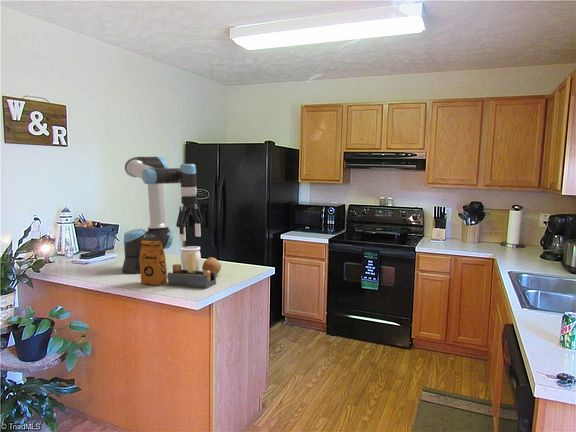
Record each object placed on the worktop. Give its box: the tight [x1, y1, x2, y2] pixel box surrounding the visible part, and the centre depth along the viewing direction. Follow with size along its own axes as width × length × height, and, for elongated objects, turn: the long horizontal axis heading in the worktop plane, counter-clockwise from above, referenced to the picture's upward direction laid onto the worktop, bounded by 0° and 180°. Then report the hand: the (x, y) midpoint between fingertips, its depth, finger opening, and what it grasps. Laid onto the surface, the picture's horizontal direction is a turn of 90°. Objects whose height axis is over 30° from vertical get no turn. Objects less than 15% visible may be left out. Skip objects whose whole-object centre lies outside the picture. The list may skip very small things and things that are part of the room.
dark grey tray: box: [167, 263, 217, 290], centre depth 212 cm, size 22×9×9 cm, turn 71°
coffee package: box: [139, 241, 168, 286], centre depth 214 cm, size 10×12×22 cm
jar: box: [180, 245, 202, 271], centre depth 232 cm, size 11×10×15 cm
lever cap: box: [187, 253, 196, 275], centre depth 212 cm, size 10×5×13 cm, turn 71°
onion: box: [201, 257, 222, 276], centre depth 229 cm, size 10×10×10 cm
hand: (190, 238), depth 210 cm, fingers open, 13 cm apart
